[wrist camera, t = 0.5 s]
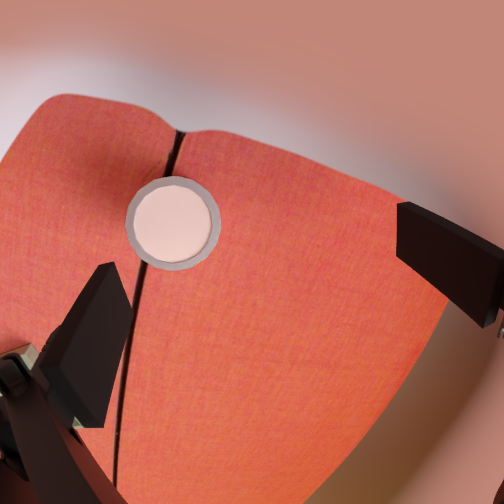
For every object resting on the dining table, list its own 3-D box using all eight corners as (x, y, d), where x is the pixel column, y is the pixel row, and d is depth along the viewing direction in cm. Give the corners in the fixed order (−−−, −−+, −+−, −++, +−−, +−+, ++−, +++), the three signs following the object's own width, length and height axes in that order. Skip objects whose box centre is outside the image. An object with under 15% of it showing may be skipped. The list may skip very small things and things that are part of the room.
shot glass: (156, 253, 28) (147, 284, 22) (128, 185, 26) (109, 198, 19) (223, 227, 29) (234, 252, 22) (199, 158, 26) (202, 161, 20)
